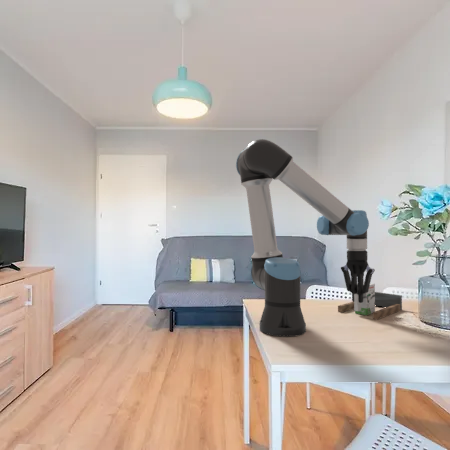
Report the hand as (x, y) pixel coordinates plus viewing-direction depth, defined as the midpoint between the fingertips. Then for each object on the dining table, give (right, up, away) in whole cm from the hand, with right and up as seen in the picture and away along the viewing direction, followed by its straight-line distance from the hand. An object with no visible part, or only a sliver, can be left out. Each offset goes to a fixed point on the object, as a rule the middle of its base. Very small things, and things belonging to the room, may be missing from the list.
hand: (357, 310), depth 131 cm
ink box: (+5, -2, +4) cm, 7 cm away
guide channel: (+8, -2, +7) cm, 11 cm away
